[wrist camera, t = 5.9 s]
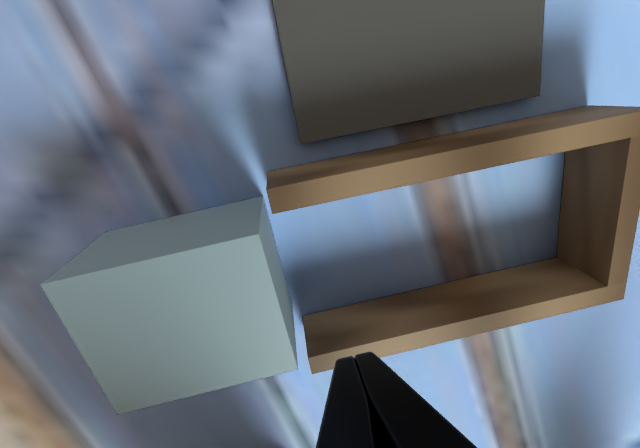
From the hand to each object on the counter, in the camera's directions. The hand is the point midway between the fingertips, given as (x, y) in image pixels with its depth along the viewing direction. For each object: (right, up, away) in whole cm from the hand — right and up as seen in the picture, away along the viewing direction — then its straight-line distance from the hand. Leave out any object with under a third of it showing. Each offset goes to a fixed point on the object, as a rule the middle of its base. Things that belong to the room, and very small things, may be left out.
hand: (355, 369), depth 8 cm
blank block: (-5, +1, +6) cm, 8 cm away
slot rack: (+4, +3, +7) cm, 8 cm away
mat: (+2, +10, +4) cm, 11 cm away
